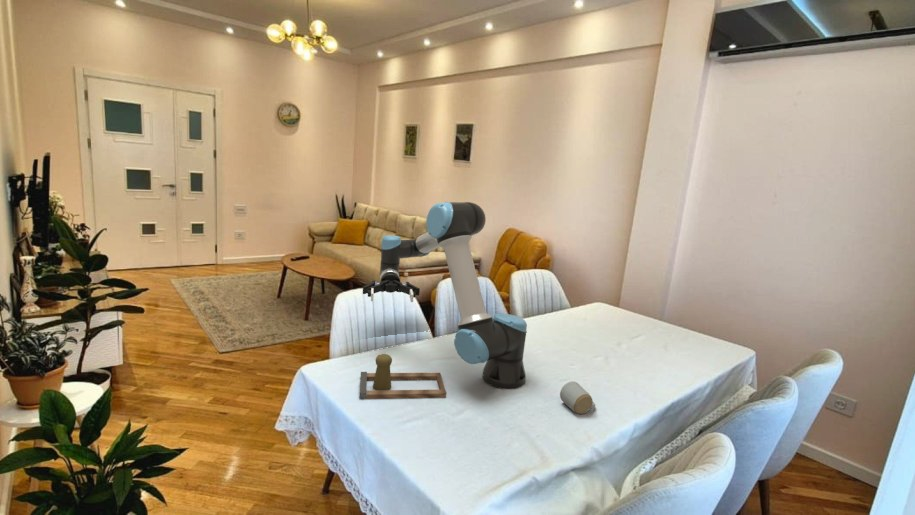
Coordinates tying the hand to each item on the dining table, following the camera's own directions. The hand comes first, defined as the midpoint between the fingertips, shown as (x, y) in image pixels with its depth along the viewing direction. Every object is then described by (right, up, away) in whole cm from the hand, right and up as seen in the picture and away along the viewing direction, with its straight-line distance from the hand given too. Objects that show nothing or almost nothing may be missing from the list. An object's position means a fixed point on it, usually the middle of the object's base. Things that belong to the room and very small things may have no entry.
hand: (392, 298), depth 155 cm
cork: (-2, -28, -8) cm, 29 cm away
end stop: (-8, -28, -9) cm, 31 cm away
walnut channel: (+5, -29, -7) cm, 30 cm away
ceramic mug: (+61, -35, -10) cm, 71 cm away
